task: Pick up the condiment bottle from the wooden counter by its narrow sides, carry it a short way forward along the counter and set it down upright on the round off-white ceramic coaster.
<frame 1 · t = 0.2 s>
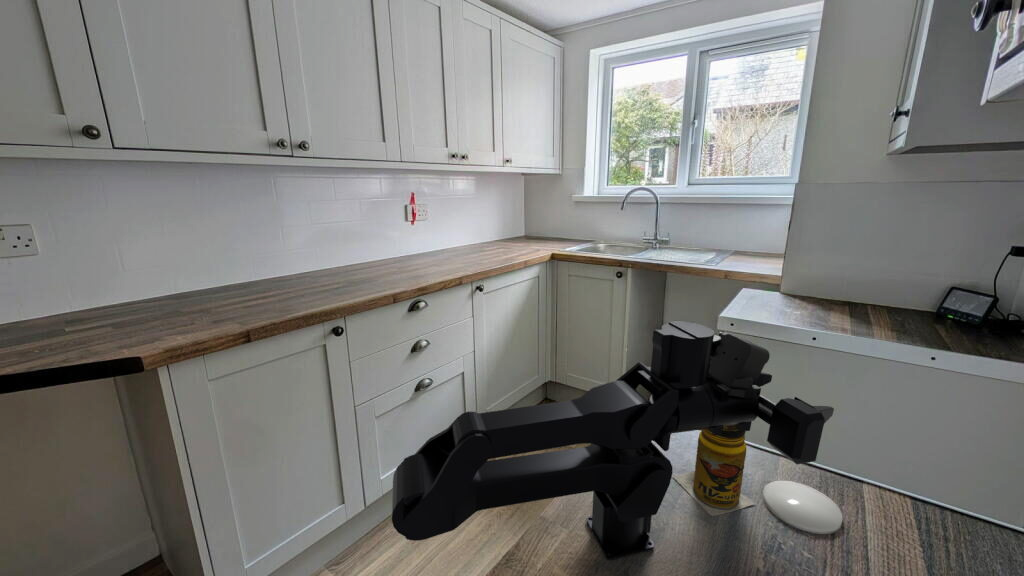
hand: (799, 393, 56), 16 cm above the countertop, tool horizontal, fingers open, 9 cm apart
condiment: (711, 491, 62), on the countertop
coaster: (800, 507, 59), on the countertop
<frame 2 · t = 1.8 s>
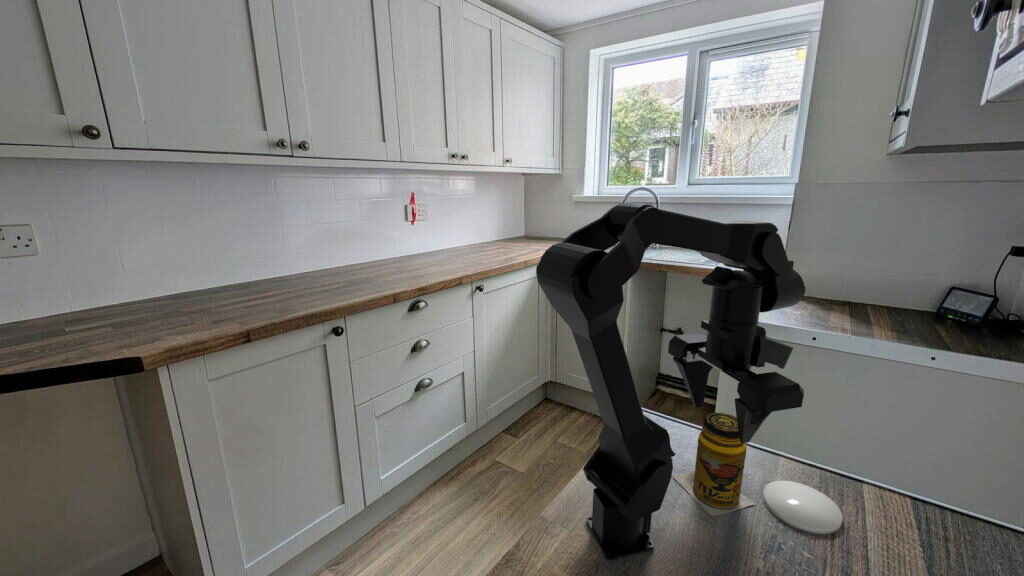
hand: (719, 423, 59), 11 cm above the countertop, tool pointing down, fingers open, 9 cm apart
nothing on the countertop moved.
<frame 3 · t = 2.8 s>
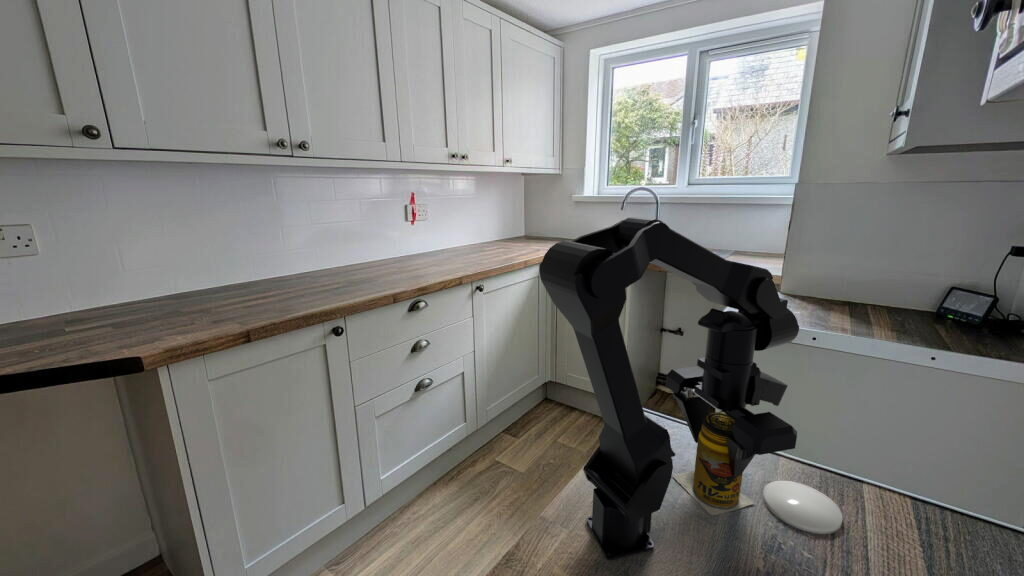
hand: (716, 457, 61), 6 cm above the countertop, tool pointing down, fingers open, 7 cm apart
condiment: (711, 491, 62), on the countertop, touching gripper
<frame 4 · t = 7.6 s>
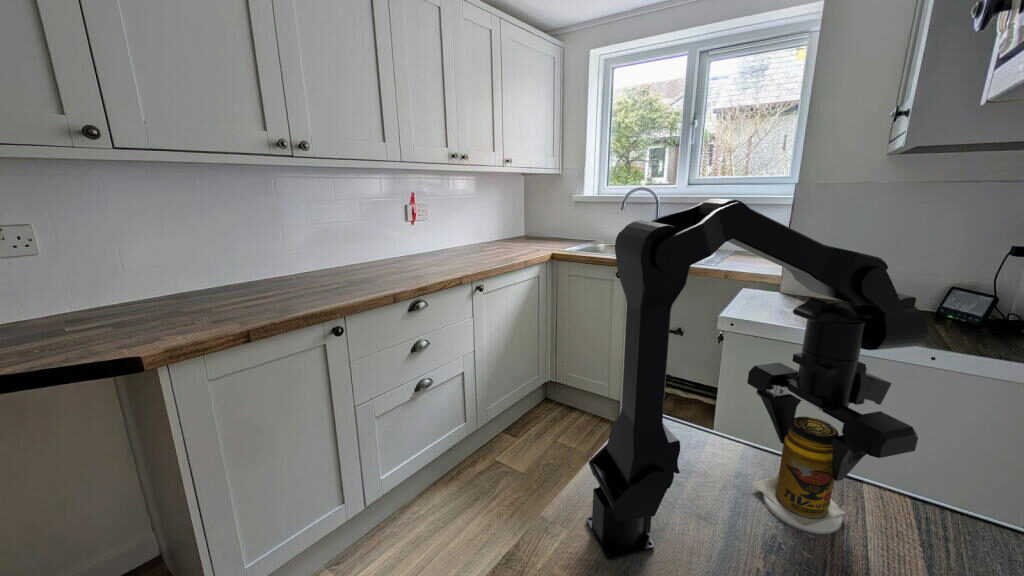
hand: (809, 460, 57), 8 cm above the countertop, tool pointing down, fingers open, 8 cm apart
condiment: (795, 499, 59), point 1 cm above the countertop, touching coaster
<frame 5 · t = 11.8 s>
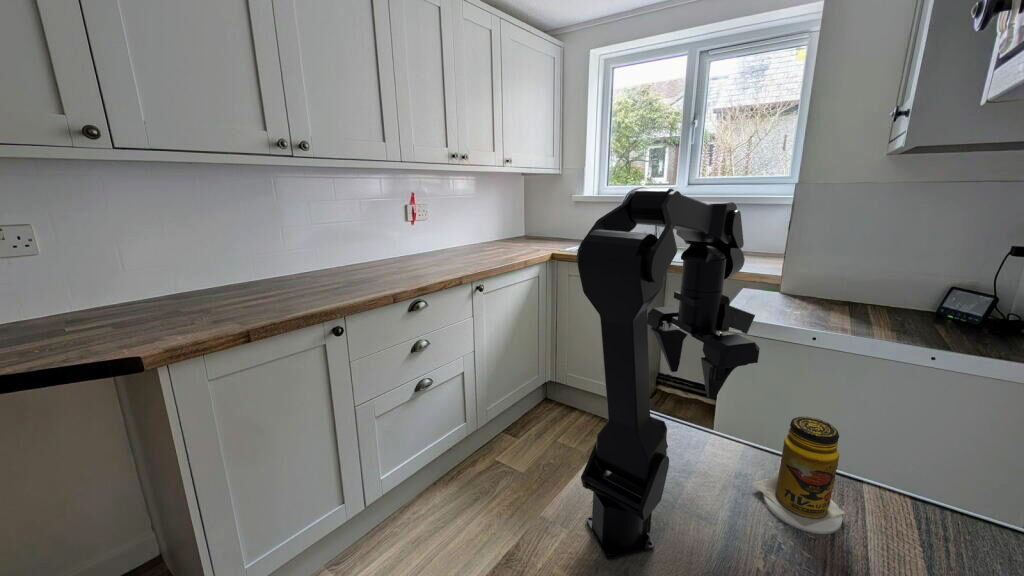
hand: (691, 383, 67), 13 cm above the countertop, tool pointing down, fingers open, 9 cm apart
nothing on the countertop moved.
at the end: condiment 0.9 cm off-centre on the coaster, point 0.6 cm above the coaster's base; condiment tilted 0°; the gripper is holding nothing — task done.
